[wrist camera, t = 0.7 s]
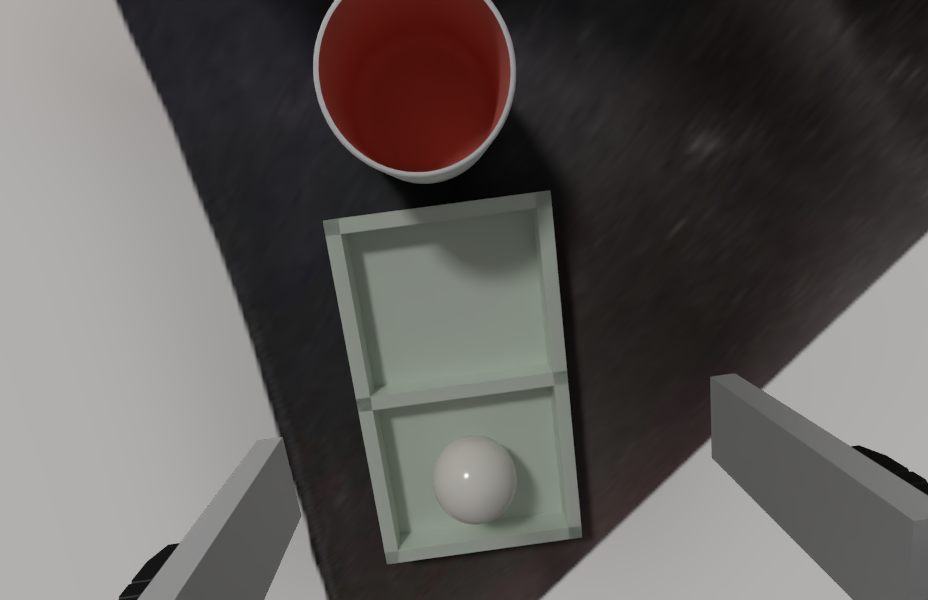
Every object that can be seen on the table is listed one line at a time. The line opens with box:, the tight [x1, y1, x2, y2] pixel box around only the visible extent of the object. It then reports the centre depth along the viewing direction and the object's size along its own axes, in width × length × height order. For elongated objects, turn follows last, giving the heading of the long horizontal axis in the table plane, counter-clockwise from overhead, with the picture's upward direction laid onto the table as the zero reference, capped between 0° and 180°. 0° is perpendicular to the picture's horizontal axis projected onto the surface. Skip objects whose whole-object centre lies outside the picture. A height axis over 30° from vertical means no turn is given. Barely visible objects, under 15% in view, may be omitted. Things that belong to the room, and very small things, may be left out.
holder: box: [323, 191, 582, 564], centre depth 36 cm, size 26×15×3 cm, turn 7°
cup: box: [313, 0, 516, 184], centre depth 29 cm, size 10×10×10 cm
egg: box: [432, 435, 517, 525], centre depth 35 cm, size 6×6×6 cm
